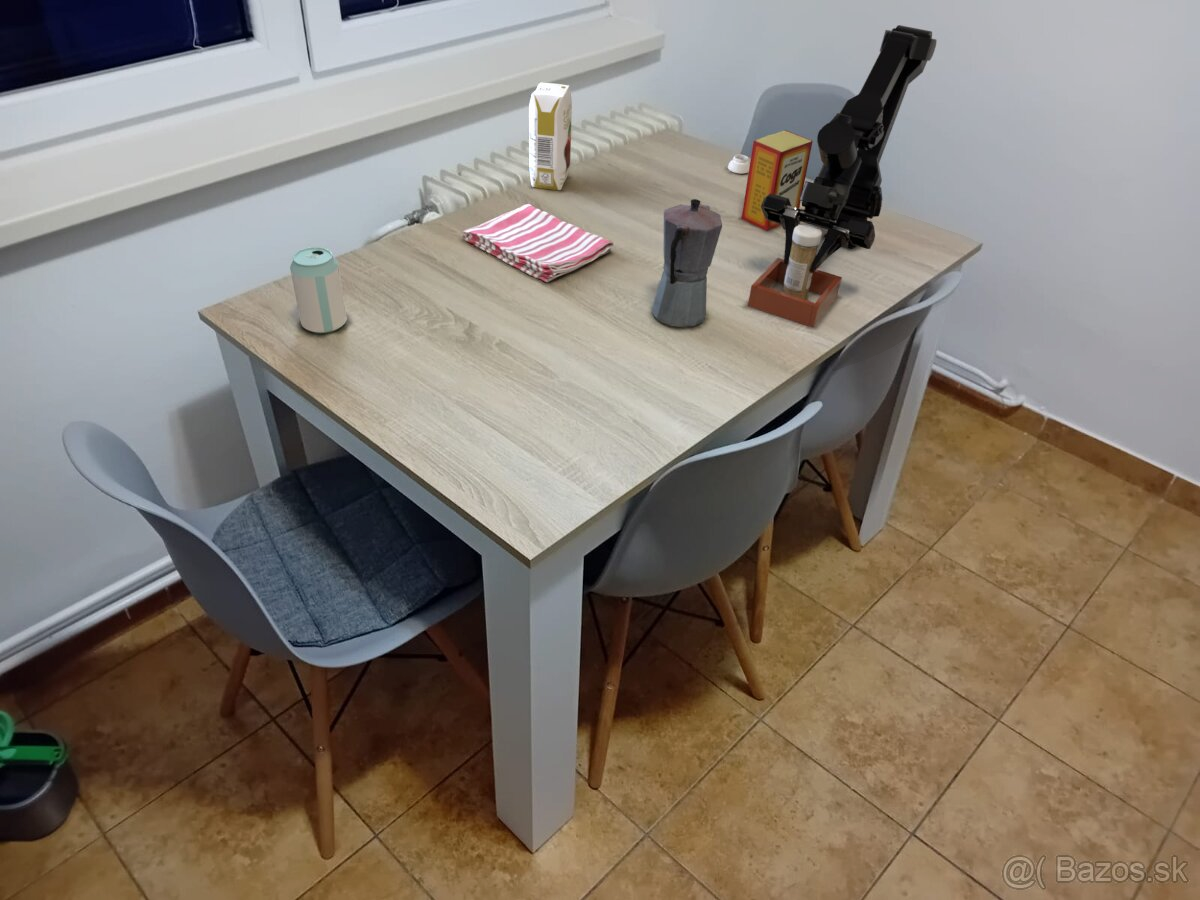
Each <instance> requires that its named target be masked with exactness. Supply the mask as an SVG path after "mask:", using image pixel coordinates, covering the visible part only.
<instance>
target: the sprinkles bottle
mask: <svg viewBox="0 0 1200 900" xmlns="http://www.w3.org/2000/svg"><path fill="white" fill-rule="evenodd" d="M822 236H823V231H822V229H820V227H818V226H814V225H811V224H799V225H798V226H796V227H795V228H794V232H793V236H792V247H791V252H790V255H789V260H788V265H787V270H786V275H785V280H784V283H783V288H782V291H781V292H782V293H785V294H788V295H791V296H795V297H798V298H801V299H804V300H807V301H808V295H809V292H810V291H809V287H810V283H811V279H812V274H813V273H810V268H811V265H812V263H813V261H814V259H815V257H816V255H817V253H818V250H819V249H818V248H819V246H820V244H821V242H822Z"/></svg>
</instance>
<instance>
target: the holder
mask: <svg viewBox="0 0 1200 900" xmlns="http://www.w3.org/2000/svg"><path fill="white" fill-rule="evenodd" d="M787 265H788V264H787ZM787 265H784V258H781V257H777V258H776V259H775V260H774V261H773V262H772V263H771V264H770V265H769V267H767V269H766V270H765V271H764V272H763V273H762V274H760V276H759V277H758V278H757V279H756V280H755V281H754V282H753V283H752V284H751V286H750V291H749V297H748V303H747V307H749V308H753V309H756V310H759V311H762V312H765V313H768V314H771V315H773V316H778V317H780V318H782V319H786V320H790V321H793V322H795V323H798V324H802V325H805V326H808V327H810V328H814V327H815V326H816V325H817V324H818V322H820V319H822V317H824V315H825V313H826V312H827V311H828V310H829V309H830V307H831V306H832V305H833V303H834V302H835V301H836V299H838V295H839V291H840V288H841V284H842V280H843V277H842V276H840V275H837V274H834V273H830V272H826V271H824V270H820V269H818V268H817V269H816V270H815V271H814V272H813V274H812V279H811V283H810V287H809V291H808V292H811V293H814V294H816V295H819V297H818V298H817V300H816V301H815V302H814V301H810V300H808V299H807V300H804V299H801V298H798V297H795V296H791V295H788V294H785V293H782V292H783V291H779V290H775V289H773V286H775V284H776V283H777V282H779V283H782V284H784V280H785V275H786V270H787Z"/></svg>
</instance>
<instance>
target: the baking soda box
mask: <svg viewBox="0 0 1200 900" xmlns="http://www.w3.org/2000/svg"><path fill="white" fill-rule="evenodd" d="M813 142H814V140H812V139H809V138H807V137H804V136H802V135H799V134H797V133H794V132H792V131H789V130H787V129H785V130H782V131H779V132H776V133H773V134H772V133H771V134H767V135H766V136H763V137H761V138H758V139H755V140H753V142H752V149H751V154H750V160H749V162H750V167H749V172H748V173H747V174H748V175H747V181H746V185H745V186H746V187H745V193H744V199H743V204H742V211H741V218H740V219H741V220H743V221H745V222H747V223H749V224H751V225H753V226H755V227H757V228H759V229H762V230H763V231H765V232H768V231H771V230H772V229H775V228H777V227H779V226H782V224H778V223H775V222H772V221H768V220H767V219H765V216H764V214H763V211H762V209H761V204H762V202H763V200H764V198H765V197H766V196H767V195H769V194H770V193H771V194H774V195H778V196H782V197H785V198H789V200H790V203H791V207H795V208H798V209H800V206H801V203H802V201H800V197H801V194H802V191H803V188H804V185H805V181H806V177H807V173H808V166H809V161H810V157H811V153H812V146H813Z"/></svg>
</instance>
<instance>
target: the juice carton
mask: <svg viewBox="0 0 1200 900" xmlns="http://www.w3.org/2000/svg"><path fill="white" fill-rule="evenodd" d="M530 96H531V97H530V100H529V106H528V172H529V179H530V184H531V187H532V188H537V189H543V190H544V189H546V190H554V191H561V190H562V188H563V186H564V183H565V182H566V180H567V178H568V176H569V172H570V169H571V152H572V150H571V149H572V148H571V147H572V117H573V115H572V113H573V112H572V111H573V110H572V109H573V105H572V104H573V102H572V93H571V86H570V85H569V84H561V83H555V82H554V83H553V82H541V81H540V82H538V84H537V86H536V89H534V91H533V92H531V95H530Z"/></svg>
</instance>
